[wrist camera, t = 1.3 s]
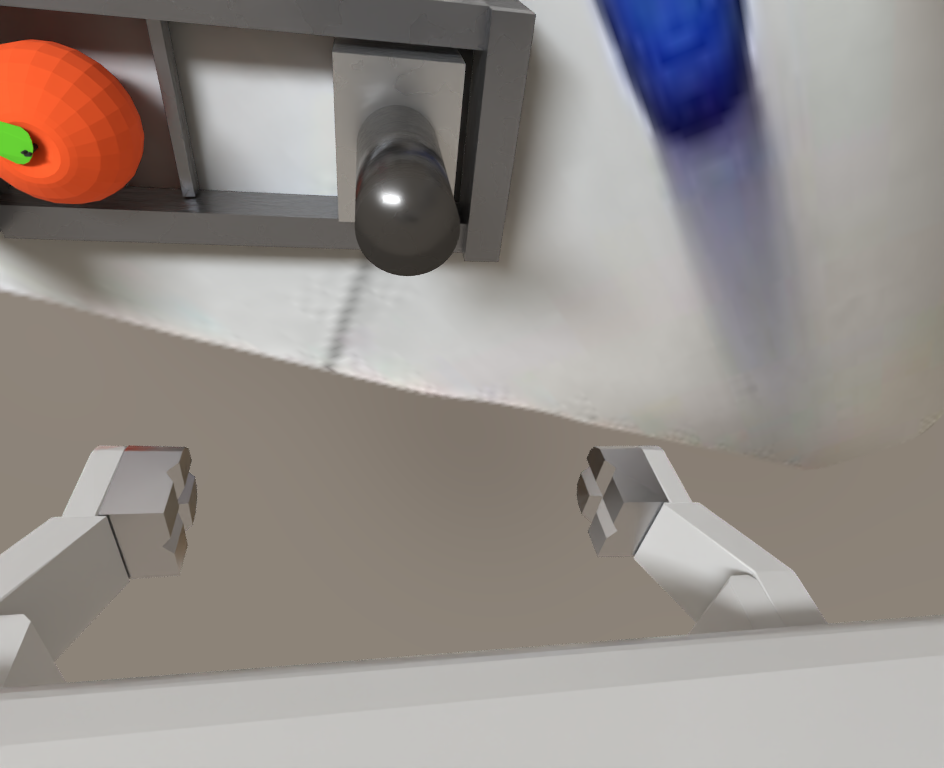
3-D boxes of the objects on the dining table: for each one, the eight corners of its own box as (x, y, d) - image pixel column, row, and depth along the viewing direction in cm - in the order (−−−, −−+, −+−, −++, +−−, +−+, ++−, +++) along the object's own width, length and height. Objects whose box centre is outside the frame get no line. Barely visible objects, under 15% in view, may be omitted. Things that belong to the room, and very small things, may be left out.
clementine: (-28, 124, 30) (-114, 179, 24) (-18, -21, 26) (-116, 6, 21) (145, 193, 33) (103, 254, 28) (174, 73, 30) (132, 116, 24)
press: (518, 0, 30) (557, 31, 24) (487, 230, 37) (511, 298, 31) (-191, -78, 24) (-373, -62, 18) (-53, 209, 32) (-149, 286, 26)
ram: (455, 45, 30) (499, 125, 20) (443, 196, 35) (474, 318, 26) (335, 33, 29) (321, 113, 19) (340, 191, 34) (332, 316, 25)
